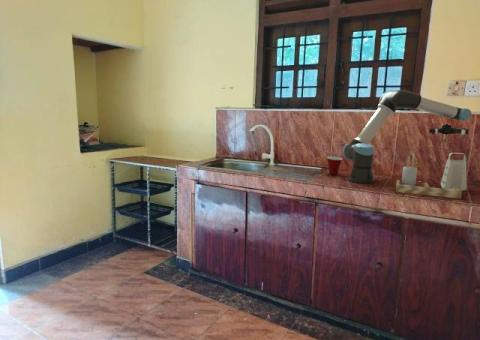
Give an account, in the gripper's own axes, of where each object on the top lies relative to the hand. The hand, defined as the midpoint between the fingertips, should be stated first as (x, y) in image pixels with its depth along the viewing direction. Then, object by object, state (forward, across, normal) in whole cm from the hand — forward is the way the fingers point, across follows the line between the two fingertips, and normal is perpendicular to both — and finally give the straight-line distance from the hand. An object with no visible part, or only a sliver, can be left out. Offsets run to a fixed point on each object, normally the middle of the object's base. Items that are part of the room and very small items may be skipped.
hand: (450, 131), depth 180 cm
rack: (+26, +11, -32) cm, 42 cm away
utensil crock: (+26, +20, -32) cm, 46 cm away
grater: (+10, -3, -32) cm, 33 cm away
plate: (+10, -4, -32) cm, 34 cm away
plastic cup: (-1, +66, -32) cm, 73 cm away
